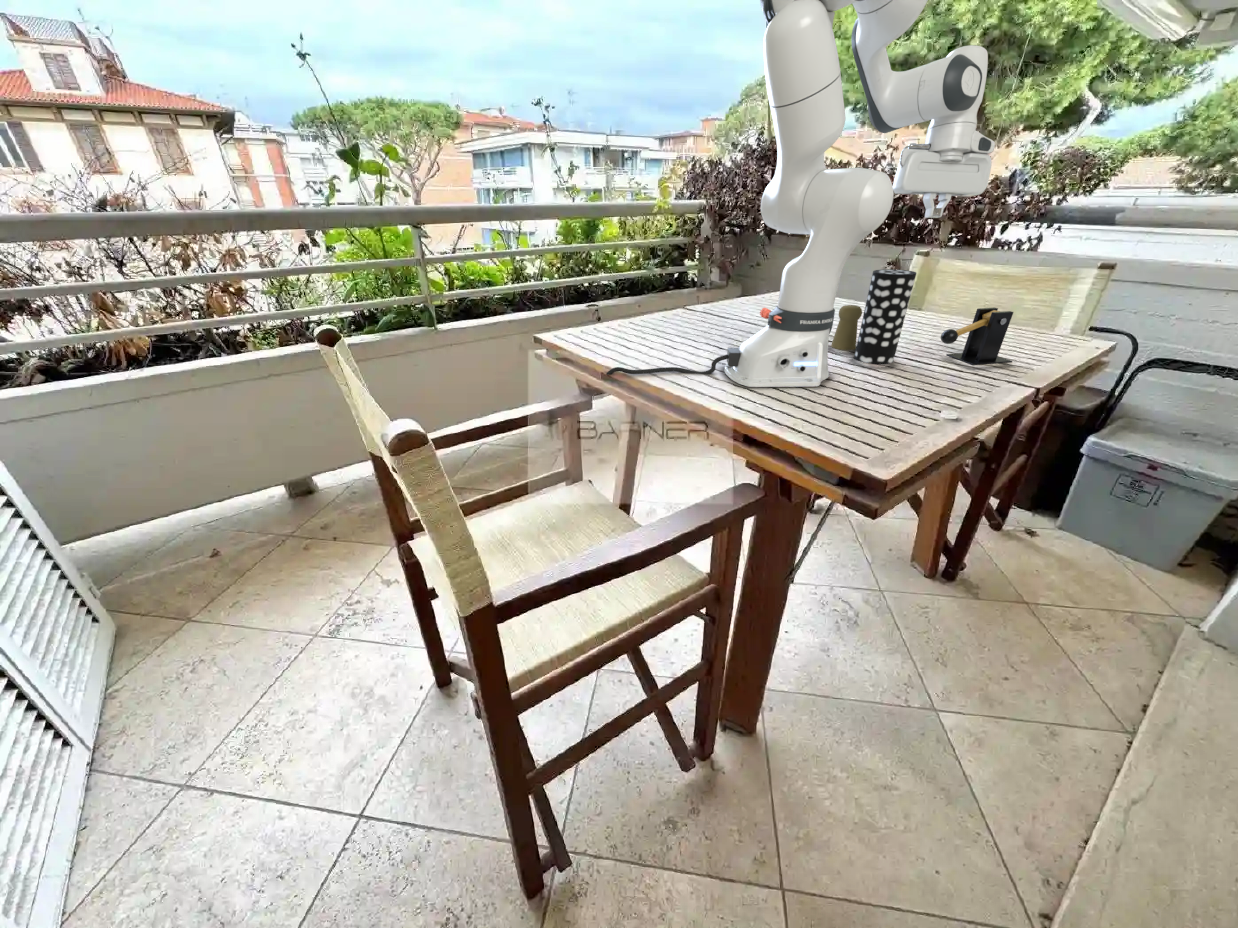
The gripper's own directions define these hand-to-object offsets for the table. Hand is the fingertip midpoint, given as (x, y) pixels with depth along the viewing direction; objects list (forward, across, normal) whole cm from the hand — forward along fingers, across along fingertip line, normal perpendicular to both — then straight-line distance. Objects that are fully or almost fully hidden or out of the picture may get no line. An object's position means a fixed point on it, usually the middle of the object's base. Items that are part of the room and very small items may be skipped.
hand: (933, 217), depth 107 cm
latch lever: (+24, +8, -9) cm, 27 cm away
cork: (+30, -12, +8) cm, 33 cm away
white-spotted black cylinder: (+32, -10, -3) cm, 33 cm away
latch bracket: (+31, +12, -8) cm, 34 cm away
